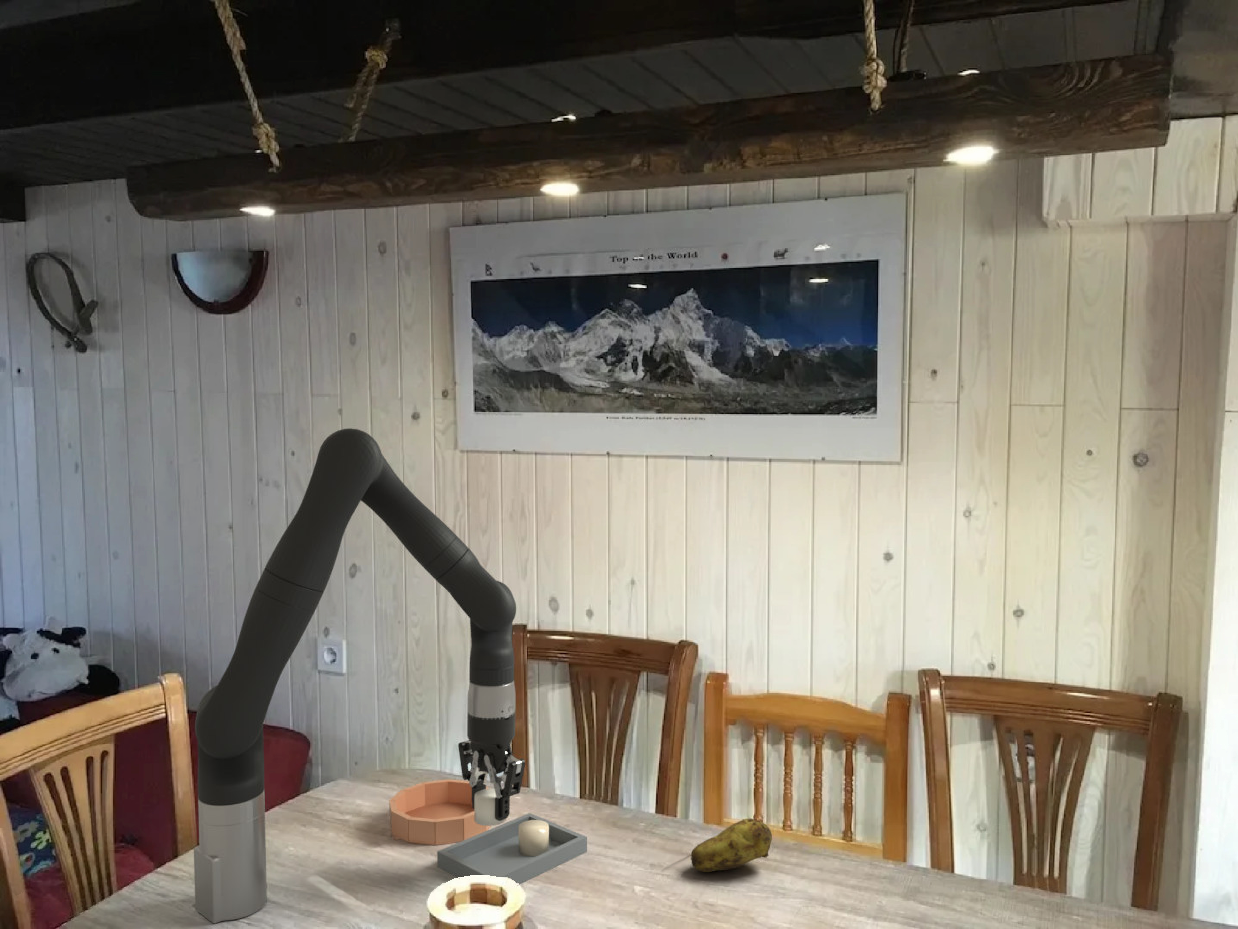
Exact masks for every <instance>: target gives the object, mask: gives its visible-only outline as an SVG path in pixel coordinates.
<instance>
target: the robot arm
mask: <svg viewBox="0 0 1238 929" xmlns="http://www.w3.org/2000/svg"><path fill="white" fill-rule="evenodd" d="M318 450H319V451H318V453H317V457H316V461H315V465H314V467H313V471H312V474H311V477H310V480H309V483H308V484H307V488H306V491H305V493H304V495H303V497H302V500H301V503H300V505H299V506H298V509H297V511H296V513H295V515H294V517H293V518H292V520H291V521H290V523H289V524H288V526H287V528H286V529H285V531H284V532H283V534H282V536H281V537H280V539H279V540H278V543H277V544H276V546H275V547H274V550H273V552H272V553H271V555H270V557H269V559H268V560H267V562H266V565H265V567H264V569H263V571H262V573H261V575H260V578H259V580H258V582H257V584H256V586H255V588H254V590H253V593H252V596H251V598H250V601H249V603H248V606H247V609H246V611H245V615H244V617H243V621H242V625H241V627H240V632H239V634H238V639H237V642H236V646H235V649H234V652H233V655H232V657H231V659H230V661H229V663H228V665H227V667H226V669H225V671H224V673H223V674H222V677H221V679H220V680H219V682H218V684H217V685H215V686H214V687H212V688H211V689H209V690H208V691H207V692H206V693H205V694H204V696H203V697H202V698H201V699H200V701H199V702H200V703H199V704H198V707H197V711H196V716H195V721H194V732H195V737H196V741H197V757H198V758H197V800H198V801H197V802H198V803H197V805H198V836H199V838H198V842H199V845H197V846H195V847H194V848H193V868H194V869H193V870H194V872H193V873H194V900H195V902H194V903H195V911H197V912H199V914H201V915H202V916H203V917H205V918H206V919H207V920H209V921H210V922H211V923H212V924H217V923H220V922H222V921H232V920H238V919H243V918H245V917H248V916H251V915H253V914H255V913H257V912H258V911H259V910H261V909H263V907H264V906H266V903H267V901H268V890H267V889H268V884H267V848H266V846H267V844H266V839H267V838H266V807H265V806H266V804H265V803H266V802H265V800H266V799H265V796H266V795H265V753H264V747H265V746H264V722H265V720H266V716H267V713H268V710H269V706H270V704H271V701H272V699H273V696H274V693H275V690H276V689H277V688H276V687H277V685H278V683H279V680H280V677H281V675H282V673H283V672H284V669H285V667H286V666H287V663H288V662H289V660H290V659H291V657H292V655H293V653H294V651H295V650H296V648H297V646H298V645H299V642H300V641H301V639H302V637H303V635H304V633H305V631H306V629H307V628H308V625H309V623H310V622H311V620H312V618H313V616H314V615H315V612H316V610H317V608H318V606H319V603H320V601H321V600H322V597H323V595H324V593H325V590H326V588H327V585H328V583H329V580H330V577H331V576H332V573H333V571H334V567H335V564H336V561H337V559H338V558H337V557H338V554H339V552H340V547H341V544H342V540H343V538H344V534H345V532H346V529H347V526H348V524H349V522H350V521H351V519H352V516H353V515H354V513H355V511H356V510H357V507H358V506H359V504H360V502H362V503H364V504H365V505H366V506H367V507H368V508H369V509H371V510H372V511H373V512H374V514H376V516H378V517H379V518H380V519H381V520H382V521H383V523H384V524H385V525H386V526H387V527H388V528H389V529H390V530H391V532H392V533H393V534H394V535H395V537H396V538H397V539H398V540H399V542H401V544H402V546H404V548H405V549H406V550H407V551H408V553H410V555H411V556H412V557H413V558H414V559H415V560H416V561H417V562H418V563H419V565H420V566H422V567H423V569H424V570H425V571H426V572H427V573H428V574H429V575H430V576H431V577H432V578H433V579H434V580H435V581H436V582H437V583H438V584H439V585H440V586H442V587H443V588H444V589H445V590H446V591H447V592H448V593H449V594H450V596H451V598H453V600H454V601H455V602H456V603H457V605H458V607H460V609H461V610H462V611H463V612H464V613H465V615H466V616H467V617H468V618H469V625H470V628H469V629H470V641H471V642H470V644H471V646H470V654H469V667H468V668H469V674H468V675H469V678H468V680H469V683H468V689H467V690H468V691H467V712H466V713H467V716H466V718H467V719H466V720H467V722H466V724H467V727H466V730H467V732H466V733H467V734H466V737H467V740H465V741H461V742H458V744H457V745H458V746H457V747H458V754H459V760H460V768H461V775H462V778H463V781H469V784H470V786H471V787H472V808H473V809H474V799H475V793H476V792H477V791H480V790H483V789H486V787H487V784H485V783H486V781H487V778H488V777H489V782H490V784H493V789H495V793H496V797H495V819H496V820H498V821H501V820H504V819H506V820H507V818H508V817H509V815H510V812H511V811H510V808H511V806H510V802H511V801H510V800H511V798H510V797H512V796H515V795H519V794H520V792H521V788H522V782H523V778H524V773H525V772H524V771H525V768H526V760H525V759H524V758H519V759H518V758H517V757H515V756H514V755H513V750H512V746H511V742H512V741H513V740H514V738H515V735H516V686H515V652H514V647H513V641H512V640H513V622H514V620H515V617H516V613H517V603H516V600H515V597H514V594H513V592H512V590H511V589H510V588H509V587H508V586H507V585H506V584H505V583H504V582H502V581H499V580H497V579H495V578H494V577H493V575H491V573H490V572H488V571H487V569H485V568H484V567H483V566H482V564H481V563H480V561H479V559H478V558H477V556H476V555H475V554H474V552H473V551H472V550H471V549H470V547H468V545H466V544H465V543H464V541H463V540H461V538H460V537H458V536H457V534H456V533H454V531H453V530H452V529H451V528H450V527H449V526H448V525H447V524H446V523H444V521H442V519H440V518H439V517H438V516H437V515H436V514H435V513H434V512H433V511H432V510H431V509H430V508H429V507H427V506H426V505H425V504H424V503H423V502H422V501H421V500H420V499H419V498H418V497H417V496H415V494H414V493H413V492H412V491H411V490H410V489H409V488H408V487H407V486H406V485H405V483H404V482H403V481H402V480H401V478H400V477H399V476H398V475H397V474H396V473H395V471H394V469H393V468H392V466H390V464H389V463H388V461H387V459H386V458H385V456H384V455H383V453H382V450H381V448H380V446H379V443H378V442H377V441H376V440H375V439H374V437H373V436H371V435H370V434H369V433H367V432H366V431H364V430H361V429H357V428H342V429H339V430H336V431H334V432H332V433H331V434H330V435H329V436H327V437H326V439H325V440H323V442H322V444H321V445H320V447H319V449H318ZM469 764H470V770H469ZM498 774H502V775H499V776H498ZM502 783H503V788H502Z"/></svg>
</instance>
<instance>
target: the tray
mask: <svg viewBox="0 0 1238 929" xmlns="http://www.w3.org/2000/svg"><path fill="white" fill-rule="evenodd" d="M529 820H541V821H544V822H546V823H548V825H549V851H547V852H545V853H543V854H541V855H539V856H535V857H530V856H525V855H522V854H521V853H520V852H519V825H520V824H521V823H523V822H525V821H529ZM587 852H588V836H586V835H583V834H581V833H579V832H576V831H574V830H572V829H569V828H567V827H564V826H561V825H560V824H557V823H555V822H552V821H551V820H547V819H545V818H544V817H543V818H542V817H541V816H537V815H535V814H533V813H531V812H529V813H526V814H524V815H521V816H519V817H517V818H514V819H512V820H509V821H507V822H503V823H501V824H499V825H496V826H495V827H492V828H489V829H488V830H487V831H485V832H483V833H480V834H478V835H475V836H473V837H471V838H468V839H466V840H463V841H461V842H456V843H453V844H451V845H450V846H447V847H445V848H442V849H440V850H437V854H436V856H437V862H436V864H437V868H439V869H441V870H443V871H445V872H447V873H449V874H450V875H452V876H454V877H456V878H458V877H464V876H470V875H490V876H496V877H508V878H511V879H512V880H514V881H515V882H516V883H519V885H521V884H523V883H526V882H528V881H530V880H531V879H532V880H533V879H534V878H536V877H538V876H541V875H542V874H544V873H546V872H548V871H550V870H553V869H554V868H557V867H558V866H561V865H563V864H565V863H567V862H570V861H571V860H573V859H575V858H577V857H580V856H581V855H584V854H585V853H587Z"/></svg>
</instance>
